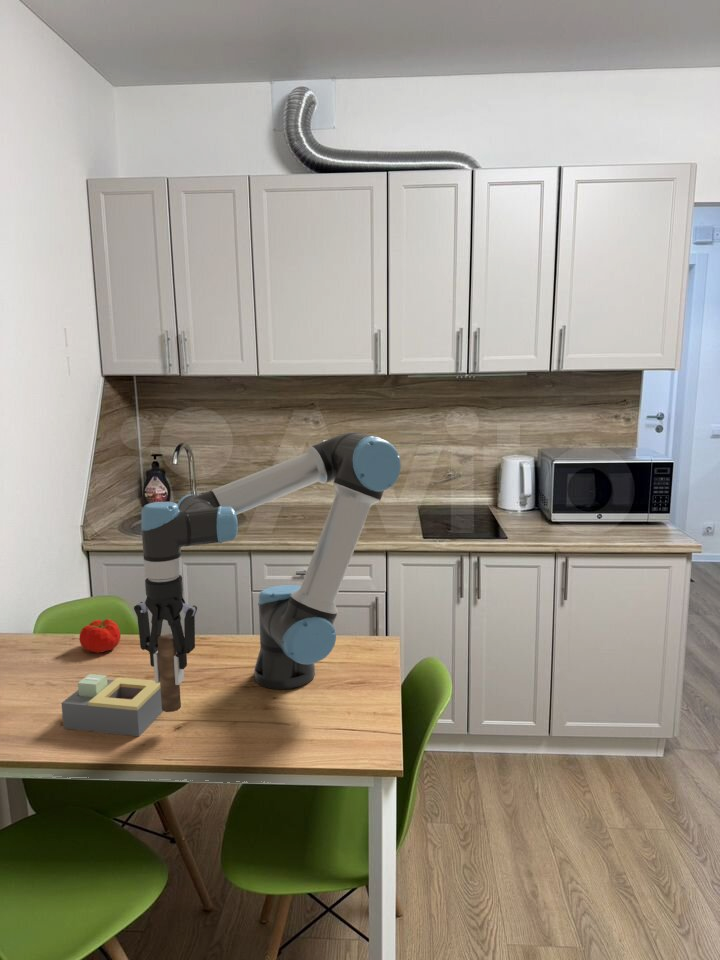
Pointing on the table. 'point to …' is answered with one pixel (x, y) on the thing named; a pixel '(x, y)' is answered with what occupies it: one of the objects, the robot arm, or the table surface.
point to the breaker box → (115, 708)
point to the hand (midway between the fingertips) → (169, 680)
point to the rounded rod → (168, 674)
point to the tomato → (100, 636)
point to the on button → (92, 685)
